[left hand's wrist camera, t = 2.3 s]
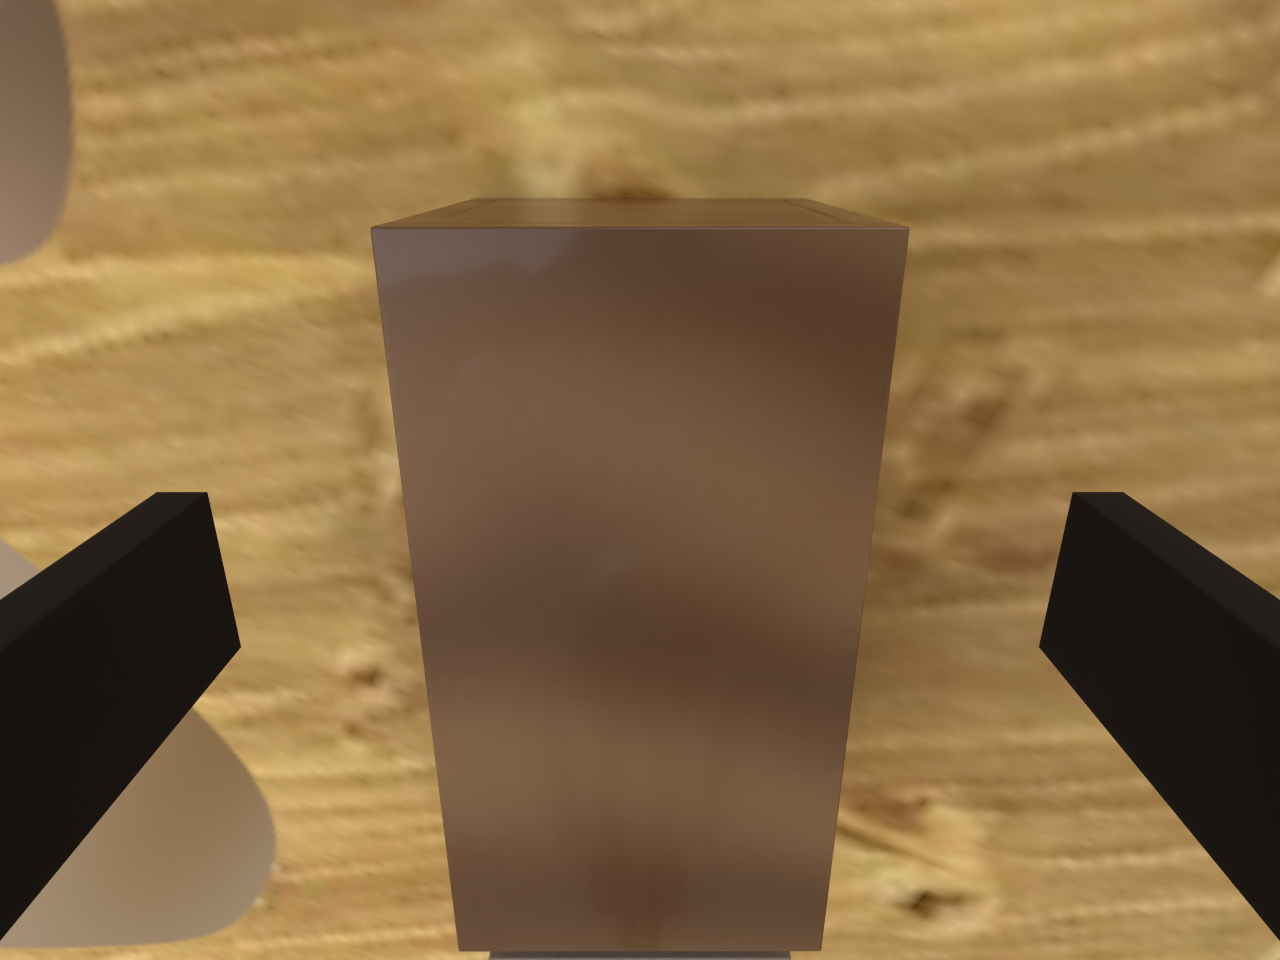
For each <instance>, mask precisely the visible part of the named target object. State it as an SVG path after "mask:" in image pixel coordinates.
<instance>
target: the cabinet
mask: <svg viewBox="0 0 1280 960" xmlns="http://www.w3.org/2000/svg"><path fill="white" fill-rule="evenodd" d="M908 236H909V227H906V226H903V225H899V224H895V223H890V222H886V221H883V220H879V219H876V218H872V217H869V216H865V215H861V214H858V213H854V212H851V211H847V210H844V209H840V208H836V207H833V206H829V205H826V204H822V203H819V202H815V201H811V200H808V199H471V200H467V201H464V202H460V203H457V204H453V205H450V206H446V207H443V208H439V209H435V210H432V211H428V212H425V213H421V214H418V215H414V216H411V217H407V218H403V219H400V220H396V221H393V222H389V223H384V224H381V225H377V226H374V227H371V237H372V246H373V254H374V262H375V270H376V278H377V286H378V295H379V303H380V311H381V319H382V327H383V335H384V344H385V352H386V360H387V368H388V376H389V384H390V393H391V401H392V409H393V417H394V425H395V433H396V442H397V450H398V458H399V466H400V474H401V483H402V491H403V499H404V507H405V515H406V523H407V532H408V540H409V548H410V556H411V564H412V572H413V581H414V589H415V597H416V605H417V613H418V621H419V630H420V638H421V646H422V654H423V662H424V670H425V679H426V687H427V695H428V703H429V711H430V720H431V728H432V736H433V744H434V752H435V760H436V769H437V777H438V785H439V793H440V801H441V809H442V818H443V826H444V834H445V842H446V850H447V858H448V867H449V875H450V883H451V891H452V899H453V907H454V916H455V924H456V932H457V940H458V948H459V951H821V946H822V938H823V930H824V922H825V914H826V906H827V897H828V889H829V881H830V873H831V865H832V857H833V848H834V840H835V832H836V824H837V816H838V808H839V799H840V791H841V783H842V775H843V767H844V759H845V750H846V742H847V734H848V726H849V718H850V710H851V702H852V693H853V685H854V677H855V669H856V661H857V653H858V644H859V636H860V628H861V620H862V612H863V604H864V595H865V587H866V579H867V571H868V563H869V555H870V546H871V538H872V530H873V522H874V514H875V506H876V497H877V489H878V481H879V473H880V465H881V457H882V448H883V440H884V432H885V424H886V416H887V408H888V400H889V391H890V383H891V375H892V367H893V359H894V351H895V342H896V334H897V326H898V318H899V310H900V302H901V293H902V285H903V277H904V269H905V261H906V253H907V244H908Z"/></svg>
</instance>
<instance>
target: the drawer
mask: <svg viewBox="0 0 1280 960" xmlns="http://www.w3.org/2000/svg"><path fill="white" fill-rule="evenodd" d="M489 960H791V956H790V951H490V955H489Z"/></svg>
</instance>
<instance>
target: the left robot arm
mask: <svg viewBox="0 0 1280 960" xmlns="http://www.w3.org/2000/svg"><path fill="white" fill-rule="evenodd" d="M240 648H241V645H240V640H239V635H238V631H237V626H236V622H235V617H234V612H233V608H232V603H231V599H230V594H229V590H228V585H227V580H226V576H225V571H224V567H223V562H222V557H221V553H220V548H219V544H218V539H217V534H216V530H215V525H214V521H213V516H212V512H211V507H210V502H209V498H208V493H207V492H156V493H155V494H154V495H152V496H151V497H149V498H148V499H146V500H145V501H143V502H142V503H140V504H139V505H138V506H136V507H135V508H133V509H132V510H130V511H129V512H127V513H126V514H124V515H123V516H122V517H120V518H119V519H117V520H116V521H114V522H113V523H111V524H110V525H108V526H107V527H106V528H104V529H103V530H101V531H100V532H98V533H97V534H95V535H94V536H92V537H91V538H90V539H88V540H87V541H85V542H84V543H82V544H81V545H79V546H78V547H76V548H75V549H74V550H72V551H71V552H69V553H68V554H66V555H65V556H63V557H62V558H60V559H59V560H58V561H56V562H55V563H53V564H52V565H50V566H49V567H47V568H46V569H44V570H43V571H42V572H40V573H39V574H37V575H36V576H34V577H33V578H31V579H30V580H28V581H27V582H26V583H24V584H23V585H21V586H20V587H18V588H17V589H15V590H14V591H12V592H11V593H10V594H8V595H7V596H5V597H4V598H2V599H1V600H0V940H1V939H2V938H3V937H4V935H5V934H6V933H7V932H8V931H9V929H10V928H11V927H12V926H13V924H14V923H15V922H16V921H17V920H18V918H19V917H20V916H21V915H22V913H23V912H24V911H25V910H26V909H27V907H28V906H29V905H30V904H31V902H32V901H33V900H34V899H35V898H36V896H37V895H38V894H39V893H40V891H41V890H42V889H43V888H44V887H45V885H46V884H47V883H48V882H49V880H50V879H51V878H52V877H53V876H54V874H55V873H56V872H57V871H58V870H59V868H60V867H61V866H62V865H63V863H64V862H65V861H66V860H67V859H68V857H69V856H70V855H71V854H72V853H73V851H74V850H75V849H76V848H77V846H78V845H79V844H80V843H81V841H82V840H83V839H84V838H85V837H86V835H87V834H88V833H89V832H90V831H91V829H92V828H93V827H94V826H95V824H96V823H97V822H98V821H99V820H100V818H101V817H102V816H103V815H104V813H105V812H106V811H107V810H108V809H109V807H110V806H111V805H112V804H113V802H114V801H115V800H116V799H117V798H118V796H119V795H120V794H121V793H122V792H123V790H124V789H125V788H126V787H127V785H128V784H129V783H130V782H131V781H132V779H133V778H134V777H135V776H136V774H137V773H138V772H139V771H140V769H141V768H142V767H143V766H144V765H145V763H146V762H147V761H148V760H149V759H150V757H151V756H152V755H153V754H154V752H155V751H156V750H157V749H158V748H159V746H160V745H161V744H162V743H163V741H164V740H165V739H166V738H167V737H168V735H169V734H170V733H171V732H172V730H173V729H174V728H175V727H176V726H177V724H178V723H179V722H180V721H181V720H182V718H183V717H184V716H185V715H186V713H187V712H188V711H189V710H190V709H191V707H192V706H193V705H194V704H195V702H196V701H197V700H198V699H199V698H200V696H201V695H202V694H203V693H204V691H205V690H206V689H207V688H208V687H209V685H210V684H211V683H212V682H213V680H214V679H215V678H216V677H217V676H218V674H219V673H220V672H221V671H222V670H223V668H224V667H225V666H226V665H227V663H228V662H229V661H230V660H231V659H232V657H233V656H234V655H235V654H236V652H237V651H238V650H239V649H240ZM1039 648H1040V649H1041V650H1042V651H1043V652H1044V654H1045V655H1046V656H1047V657H1048V659H1049V660H1050V661H1051V662H1052V663H1053V665H1054V666H1055V667H1056V668H1057V670H1058V671H1059V672H1060V673H1061V674H1062V676H1063V677H1064V678H1065V679H1066V680H1067V682H1068V683H1069V684H1070V685H1071V687H1072V688H1073V689H1074V690H1075V691H1076V693H1077V694H1078V695H1079V696H1080V698H1081V699H1082V700H1083V701H1084V702H1085V704H1086V705H1087V706H1088V707H1089V709H1090V710H1091V711H1092V712H1093V713H1094V715H1095V716H1096V717H1097V718H1098V720H1099V721H1100V722H1101V723H1102V724H1103V726H1104V727H1105V728H1106V729H1107V731H1108V732H1109V733H1110V734H1111V735H1112V737H1113V738H1114V739H1115V740H1116V741H1117V743H1118V744H1119V745H1120V746H1121V748H1122V749H1123V750H1124V751H1125V752H1126V754H1127V755H1128V756H1129V757H1130V759H1131V760H1132V761H1133V762H1134V763H1135V765H1136V766H1137V767H1138V768H1139V770H1140V771H1141V772H1142V773H1143V774H1144V776H1145V777H1146V778H1147V779H1148V781H1149V782H1150V783H1151V784H1152V785H1153V787H1154V788H1155V789H1156V790H1157V792H1158V793H1159V794H1160V795H1161V796H1162V798H1163V799H1164V800H1165V801H1166V802H1167V804H1168V805H1169V806H1170V807H1171V809H1172V810H1173V811H1174V812H1175V813H1176V815H1177V816H1178V817H1179V818H1180V820H1181V821H1182V822H1183V823H1184V824H1185V826H1186V827H1187V828H1188V829H1189V831H1190V832H1191V833H1192V834H1193V835H1194V837H1195V838H1196V839H1197V840H1198V842H1199V843H1200V844H1201V845H1202V846H1203V848H1204V849H1205V850H1206V851H1207V853H1208V854H1209V855H1210V856H1211V857H1212V859H1213V860H1214V861H1215V862H1216V863H1217V865H1218V866H1219V867H1220V868H1221V870H1222V871H1223V872H1224V873H1225V874H1226V876H1227V877H1228V878H1229V879H1230V881H1231V882H1232V883H1233V884H1234V885H1235V887H1236V888H1237V889H1238V890H1239V892H1240V893H1241V894H1242V895H1243V896H1244V898H1245V899H1246V900H1247V901H1248V903H1249V904H1250V905H1251V906H1252V907H1253V909H1254V910H1255V911H1256V912H1257V914H1258V915H1259V916H1260V917H1261V918H1262V920H1263V921H1264V922H1265V923H1266V924H1267V926H1268V927H1269V928H1270V929H1271V931H1272V932H1273V933H1274V934H1275V935H1276V937H1277V938H1278V939H1279V940H1280V600H1279V599H1278V598H1276V597H1275V596H1273V595H1272V594H1270V593H1269V592H1268V591H1266V590H1265V589H1263V588H1262V587H1260V586H1259V585H1257V584H1256V583H1254V582H1253V581H1252V580H1250V579H1249V578H1247V577H1246V576H1244V575H1243V574H1241V573H1240V572H1238V571H1237V570H1236V569H1234V568H1233V567H1231V566H1230V565H1228V564H1227V563H1225V562H1224V561H1222V560H1221V559H1220V558H1218V557H1217V556H1215V555H1214V554H1212V553H1211V552H1209V551H1208V550H1206V549H1205V548H1204V547H1202V546H1201V545H1199V544H1198V543H1196V542H1195V541H1193V540H1192V539H1190V538H1189V537H1188V536H1186V535H1185V534H1183V533H1182V532H1180V531H1179V530H1177V529H1176V528H1174V527H1173V526H1172V525H1170V524H1169V523H1167V522H1166V521H1164V520H1163V519H1161V518H1160V517H1158V516H1157V515H1156V514H1154V513H1153V512H1151V511H1150V510H1148V509H1147V508H1145V507H1144V506H1142V505H1141V504H1140V503H1138V502H1137V501H1135V500H1134V499H1132V498H1131V497H1129V496H1128V495H1126V494H1125V493H1124V492H1073V493H1072V498H1071V502H1070V507H1069V512H1068V516H1067V521H1066V525H1065V530H1064V534H1063V539H1062V544H1061V548H1060V553H1059V557H1058V562H1057V567H1056V571H1055V576H1054V580H1053V585H1052V590H1051V594H1050V599H1049V603H1048V608H1047V612H1046V617H1045V622H1044V626H1043V631H1042V635H1041V640H1040V645H1039Z"/></svg>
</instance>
